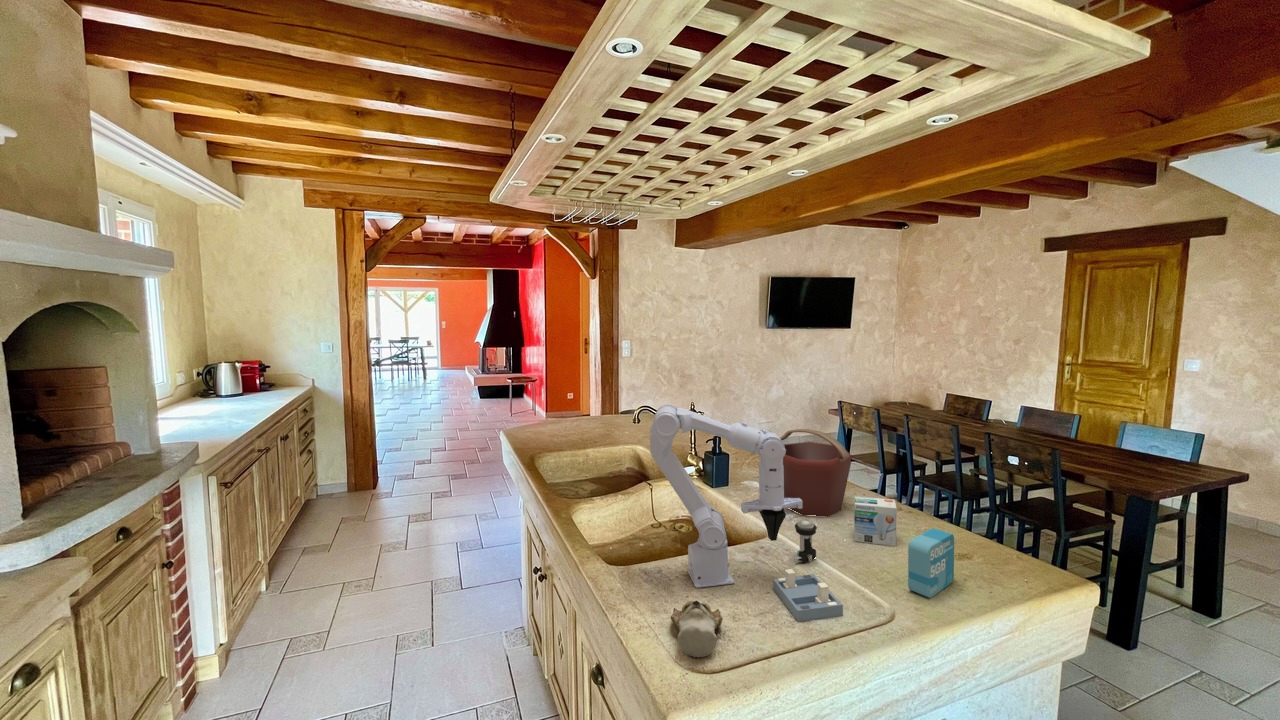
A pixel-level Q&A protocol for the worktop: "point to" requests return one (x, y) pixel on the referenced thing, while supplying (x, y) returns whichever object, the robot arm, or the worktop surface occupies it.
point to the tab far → (789, 579)
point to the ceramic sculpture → (696, 628)
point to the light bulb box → (875, 520)
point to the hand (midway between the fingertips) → (772, 538)
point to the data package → (930, 562)
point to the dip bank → (807, 599)
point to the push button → (805, 541)
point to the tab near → (822, 593)
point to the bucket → (816, 474)
